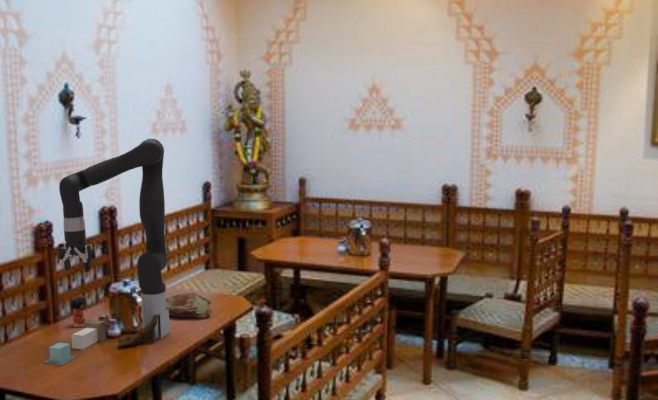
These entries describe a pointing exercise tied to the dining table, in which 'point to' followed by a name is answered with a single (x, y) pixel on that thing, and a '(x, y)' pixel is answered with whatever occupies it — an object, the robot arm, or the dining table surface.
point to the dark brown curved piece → (139, 335)
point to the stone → (188, 305)
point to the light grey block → (89, 334)
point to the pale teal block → (59, 352)
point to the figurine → (78, 310)
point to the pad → (61, 362)
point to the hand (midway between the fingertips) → (77, 270)
